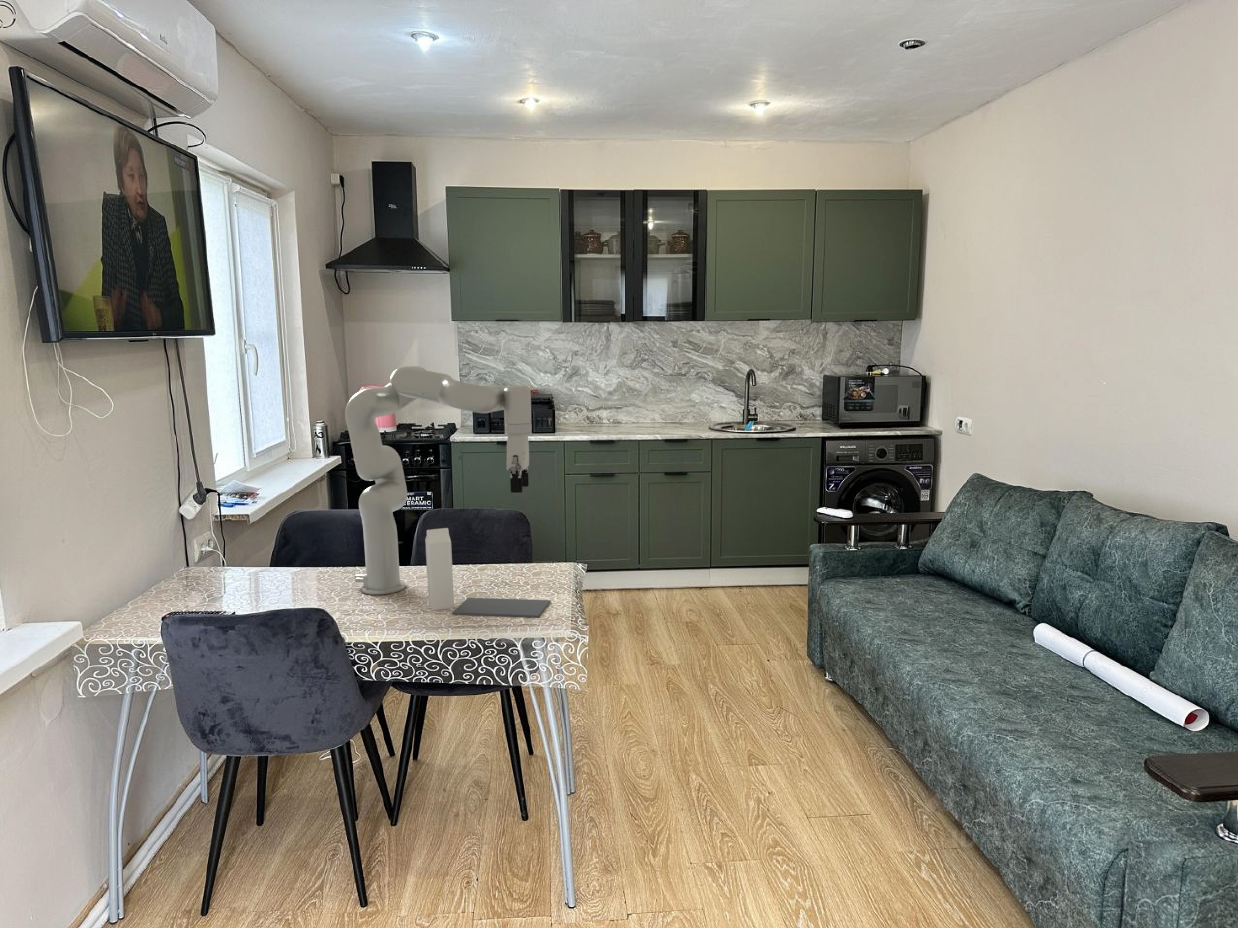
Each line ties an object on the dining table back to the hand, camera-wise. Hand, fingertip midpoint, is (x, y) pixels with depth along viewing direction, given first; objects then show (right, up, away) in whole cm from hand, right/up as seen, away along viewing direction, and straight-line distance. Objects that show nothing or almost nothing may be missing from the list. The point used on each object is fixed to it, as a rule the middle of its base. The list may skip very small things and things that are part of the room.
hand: (519, 489), depth 223 cm
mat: (-4, -32, -8) cm, 34 cm away
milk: (-21, -33, -6) cm, 39 cm away
